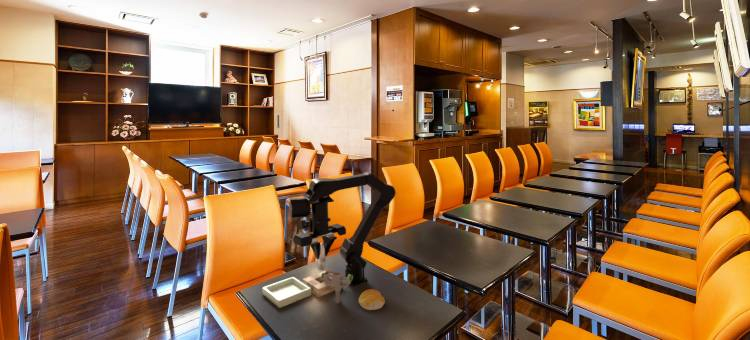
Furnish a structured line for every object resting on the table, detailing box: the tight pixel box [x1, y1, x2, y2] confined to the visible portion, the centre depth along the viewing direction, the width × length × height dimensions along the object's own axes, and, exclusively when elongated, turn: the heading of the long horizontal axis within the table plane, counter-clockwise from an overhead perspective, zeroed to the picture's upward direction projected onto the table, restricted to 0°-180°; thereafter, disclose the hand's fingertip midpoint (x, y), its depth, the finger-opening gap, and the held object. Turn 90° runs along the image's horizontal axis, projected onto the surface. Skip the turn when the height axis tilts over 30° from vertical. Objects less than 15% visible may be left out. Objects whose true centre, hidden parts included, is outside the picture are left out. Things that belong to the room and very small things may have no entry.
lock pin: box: [316, 242, 327, 271], centre depth 126 cm, size 3×3×9 cm
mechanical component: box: [322, 270, 353, 304], centre depth 117 cm, size 3×10×10 cm, turn 78°
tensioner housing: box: [302, 270, 343, 298], centre depth 128 cm, size 10×10×3 cm
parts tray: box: [262, 276, 312, 309], centre depth 123 cm, size 12×12×2 cm
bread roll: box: [358, 288, 386, 311], centre depth 117 cm, size 8×9×4 cm
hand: (321, 257), depth 126 cm, fingers closed on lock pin, 3 cm apart
